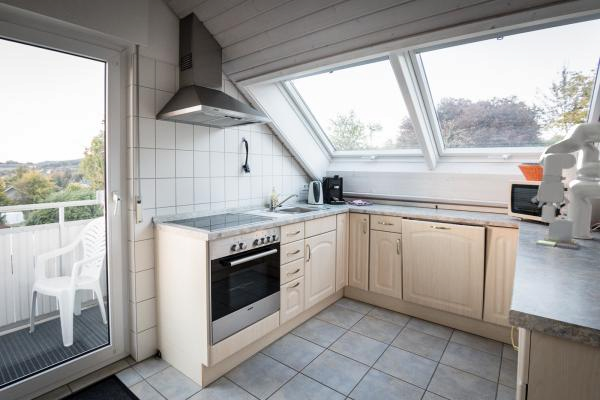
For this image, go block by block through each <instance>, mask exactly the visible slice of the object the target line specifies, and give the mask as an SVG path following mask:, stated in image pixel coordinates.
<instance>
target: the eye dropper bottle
mask: <svg viewBox="0 0 600 400" xmlns="http://www.w3.org/2000/svg"><path fill="white" fill-rule="evenodd" d="M556 209H557V205H556V206H555V205H554V203H550V202H546V204H543V205H542V215H541V218H540V220H541V222H542V223H543V222H544V223H549V222H552V223H554V222H556V219H557V217H555V215H556Z"/></svg>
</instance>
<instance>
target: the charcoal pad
mask: <svg viewBox="0 0 600 400" xmlns="http://www.w3.org/2000/svg"><path fill="white" fill-rule="evenodd" d="M556 247H557V248H560V249H561V248H563V249H569V250H577V249H578V244H575V245H573V244H565V243H556Z"/></svg>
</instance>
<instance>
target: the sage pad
mask: <svg viewBox="0 0 600 400" xmlns="http://www.w3.org/2000/svg"><path fill="white" fill-rule="evenodd" d="M536 245H538V246H540V245H541V246H546V247H547V246H548V247H555V246H557V243H556V242H550V241H544V240H540V239H539V240H537V241H536Z"/></svg>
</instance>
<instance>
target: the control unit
mask: <svg viewBox="0 0 600 400" xmlns="http://www.w3.org/2000/svg"><path fill="white" fill-rule="evenodd" d="M573 222H574V220H568V219H561V218H556V222H554V223H552V222H548V223H549V224H548V235H547V237H545V238H544V239H543V241H550V242H556V244H558V243H565V244H573V245H577V244H576V243H577V240H573V238H572V233H573Z"/></svg>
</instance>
